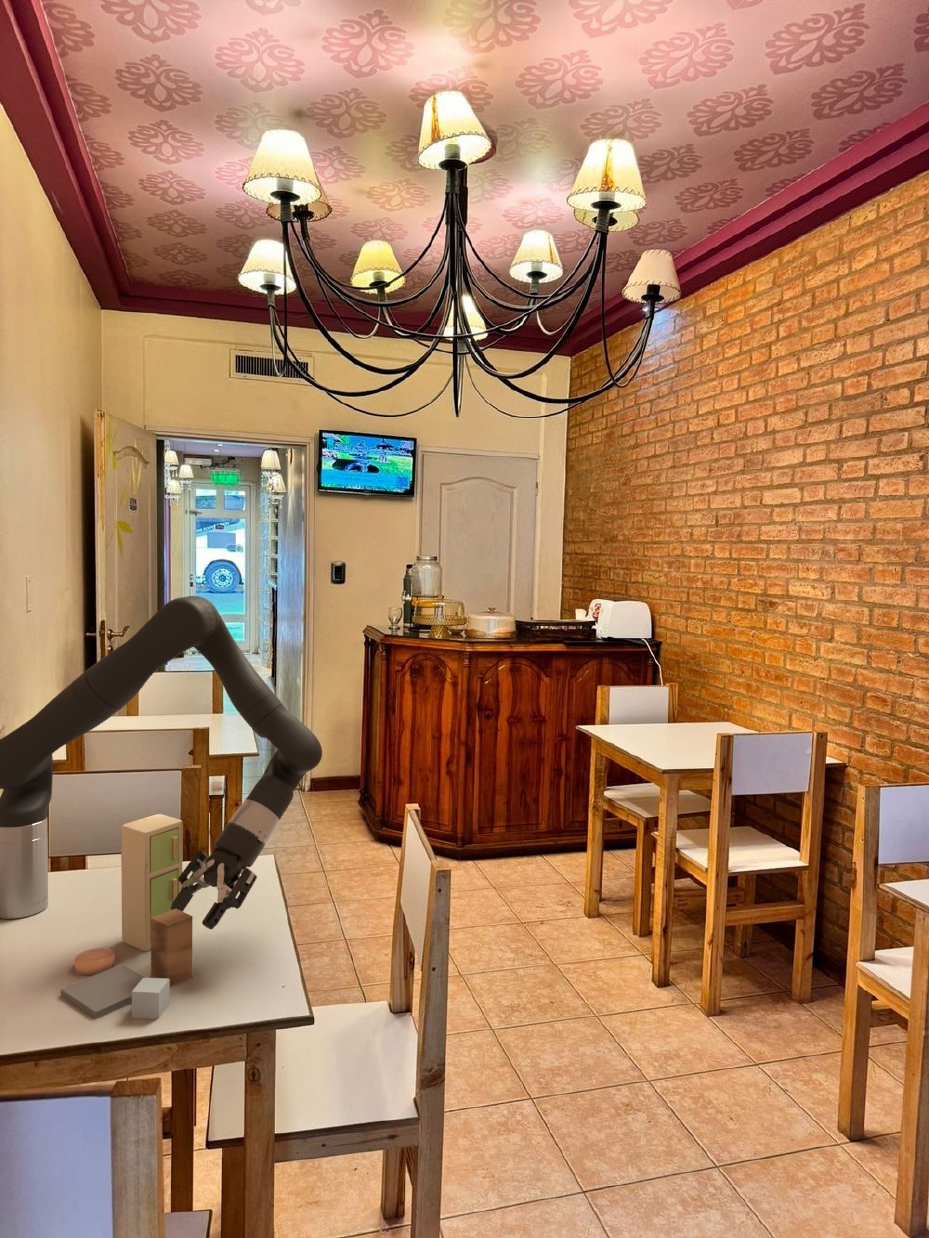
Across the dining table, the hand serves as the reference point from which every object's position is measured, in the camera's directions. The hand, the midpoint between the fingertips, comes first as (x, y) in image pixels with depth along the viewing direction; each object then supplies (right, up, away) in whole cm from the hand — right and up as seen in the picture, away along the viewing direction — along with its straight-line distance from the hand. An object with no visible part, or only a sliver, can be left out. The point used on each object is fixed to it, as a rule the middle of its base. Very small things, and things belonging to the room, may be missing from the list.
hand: (190, 919), depth 132 cm
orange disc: (-16, -8, +1) cm, 18 cm away
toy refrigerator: (-10, -8, +10) cm, 16 cm away
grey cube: (-2, -9, -12) cm, 15 cm away
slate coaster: (-10, -9, -7) cm, 15 cm away
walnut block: (-2, -9, -2) cm, 9 cm away
